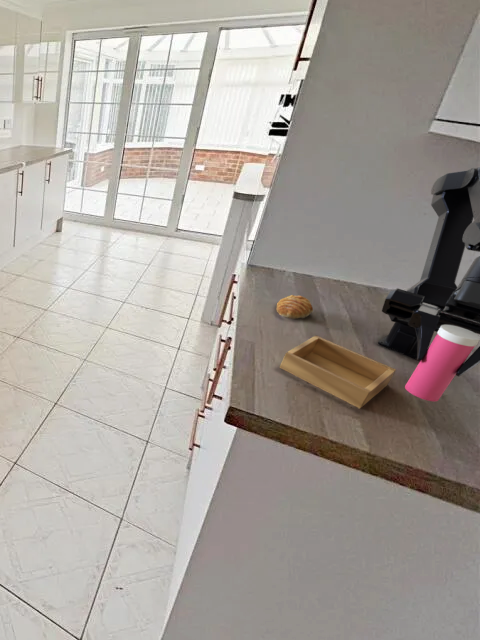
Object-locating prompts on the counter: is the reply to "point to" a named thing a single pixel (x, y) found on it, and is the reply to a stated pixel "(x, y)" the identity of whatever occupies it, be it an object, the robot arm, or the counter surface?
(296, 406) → the counter surface
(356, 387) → the wooden tray
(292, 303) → the pastry
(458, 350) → the candy tube
